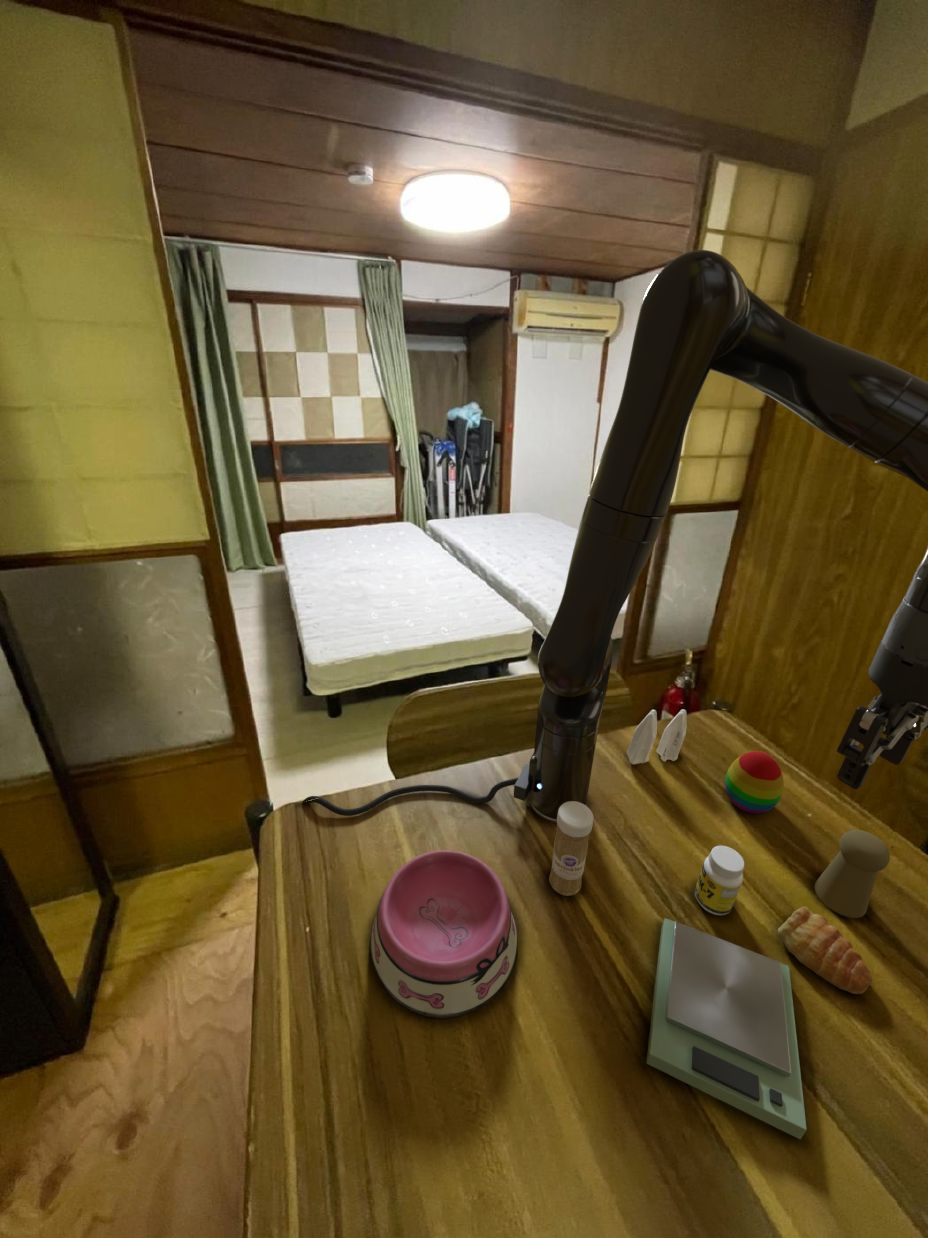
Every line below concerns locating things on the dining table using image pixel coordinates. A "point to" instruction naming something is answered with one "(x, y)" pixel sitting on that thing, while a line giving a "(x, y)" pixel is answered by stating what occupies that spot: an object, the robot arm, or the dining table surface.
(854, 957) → the pastry
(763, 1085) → the scale base
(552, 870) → the sprinkles bottle
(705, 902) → the supplement bottle
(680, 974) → the scale pan
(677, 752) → the shaker set
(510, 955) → the dog bowl
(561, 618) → the robot arm
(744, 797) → the decorative egg
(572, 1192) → the dining table surface
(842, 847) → the cork
